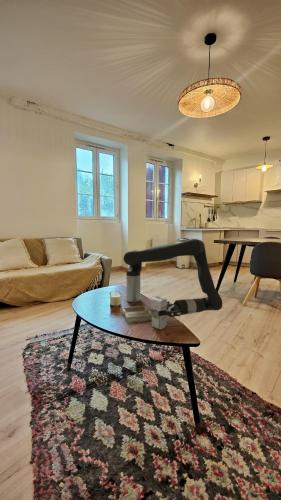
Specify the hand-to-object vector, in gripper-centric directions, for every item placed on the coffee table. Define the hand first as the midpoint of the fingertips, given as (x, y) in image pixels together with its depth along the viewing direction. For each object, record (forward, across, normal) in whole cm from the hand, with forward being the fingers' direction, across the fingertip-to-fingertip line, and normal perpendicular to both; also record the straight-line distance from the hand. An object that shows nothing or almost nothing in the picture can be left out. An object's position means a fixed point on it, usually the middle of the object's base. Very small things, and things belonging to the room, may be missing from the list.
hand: (155, 310), depth 107 cm
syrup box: (-2, 0, +9) cm, 9 cm away
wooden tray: (+5, -15, +8) cm, 18 cm away
